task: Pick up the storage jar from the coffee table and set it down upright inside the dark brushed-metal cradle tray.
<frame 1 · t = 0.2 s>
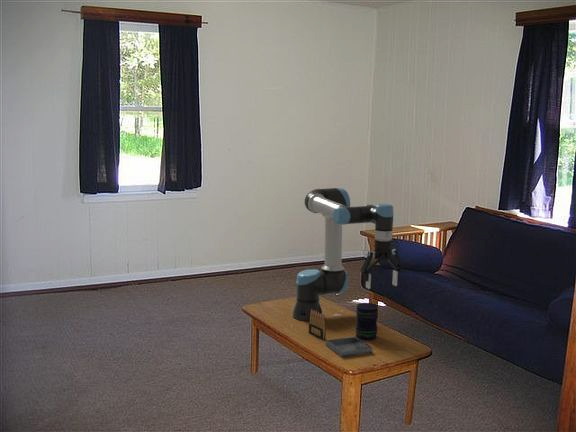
hand: (381, 286, 291), 27 cm above the table, fingers open, 13 cm apart
storage jar: (366, 337, 306), on the table
ammunition clip: (316, 336, 306), on the table
cradle tray: (348, 349, 290), on the table
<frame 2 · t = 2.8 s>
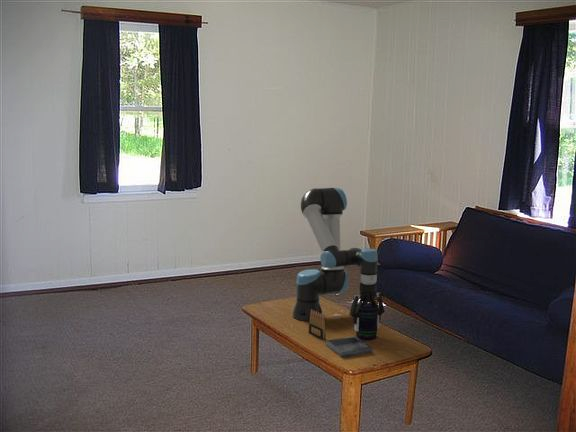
hand: (366, 329, 305), 4 cm above the table, fingers closed on storage jar, 10 cm apart
storage jar: (366, 337, 306), on the table, touching gripper
everything else where it was.
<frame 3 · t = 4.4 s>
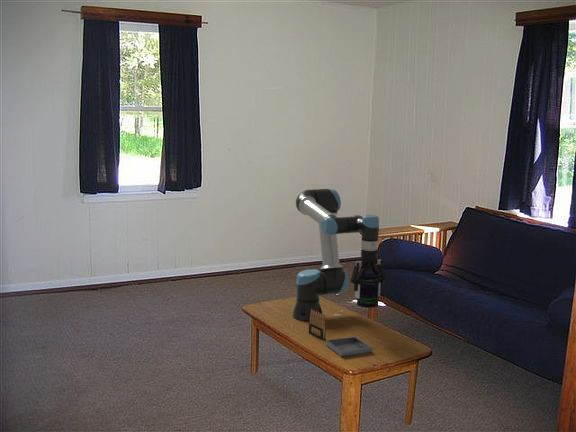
hand: (367, 296, 303), 19 cm above the table, fingers closed on storage jar, 10 cm apart
storage jar: (367, 304, 303), point 15 cm above the table, touching gripper
everything else where it was.
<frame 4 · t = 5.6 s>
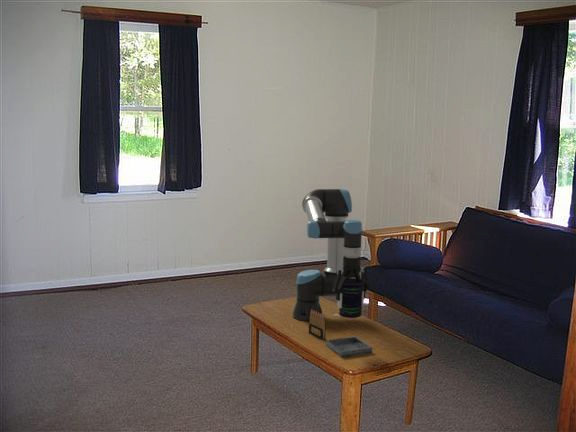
hand: (350, 306, 287), 20 cm above the table, fingers closed on storage jar, 10 cm apart
storage jar: (350, 314, 287), point 16 cm above the table, touching gripper
everything else where it was.
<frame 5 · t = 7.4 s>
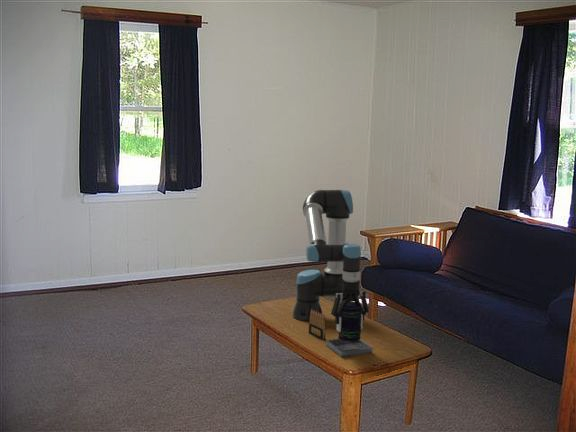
hand: (349, 329, 288), 9 cm above the table, fingers closed on storage jar, 10 cm apart
storage jar: (349, 338, 289), point 5 cm above the table, touching gripper
everything else where it was.
when the fingers open (6 cm above the table, at t = 8.6 s): storage jar drops 2 cm, resting on cradle tray.
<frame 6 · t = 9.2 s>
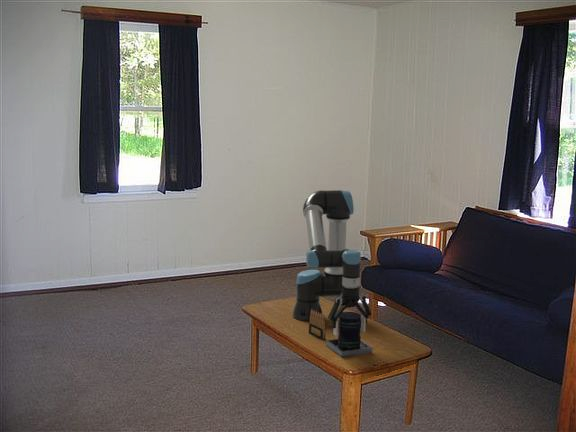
hand: (349, 333, 289), 7 cm above the table, fingers open, 13 cm apart
storage jar: (348, 348, 290), resting on cradle tray
everything else where it was.
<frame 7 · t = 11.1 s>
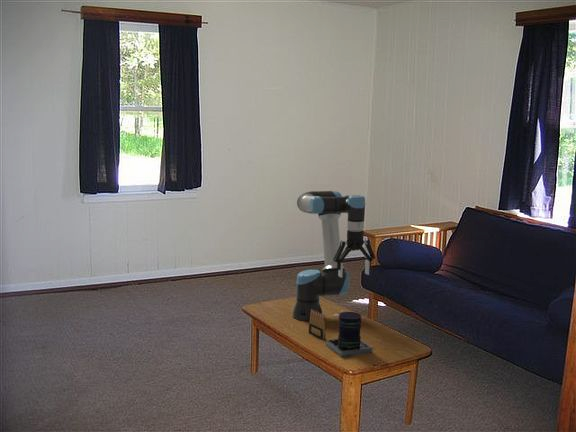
hand: (353, 275, 301), 29 cm above the table, fingers open, 13 cm apart
nothing on the table moved.
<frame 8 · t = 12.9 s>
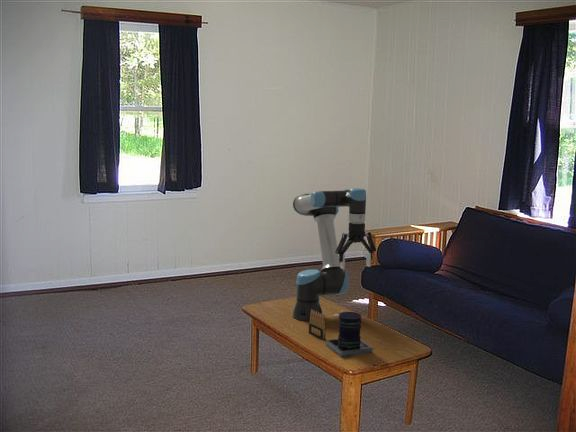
hand: (355, 267, 306), 32 cm above the table, fingers open, 13 cm apart
nothing on the table moved.
at the end: storage jar inside the target area on the cradle tray (0.1 cm from its centre), point 0.4 cm above the cradle tray's base; storage jar tilted 0°; the gripper is holding nothing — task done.
